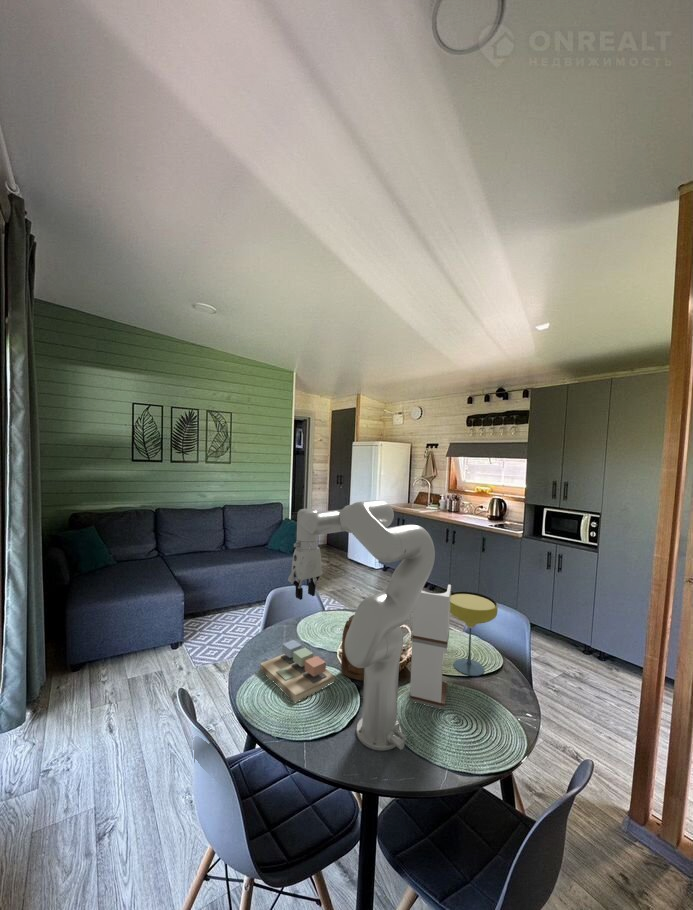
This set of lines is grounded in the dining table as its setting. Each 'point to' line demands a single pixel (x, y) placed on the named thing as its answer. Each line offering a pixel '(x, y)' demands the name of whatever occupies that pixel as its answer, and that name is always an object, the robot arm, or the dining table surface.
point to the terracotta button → (315, 666)
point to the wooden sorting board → (294, 677)
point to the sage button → (302, 656)
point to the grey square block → (290, 648)
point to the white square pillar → (430, 648)
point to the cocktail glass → (471, 622)
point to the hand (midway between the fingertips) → (305, 596)
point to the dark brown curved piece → (345, 664)
